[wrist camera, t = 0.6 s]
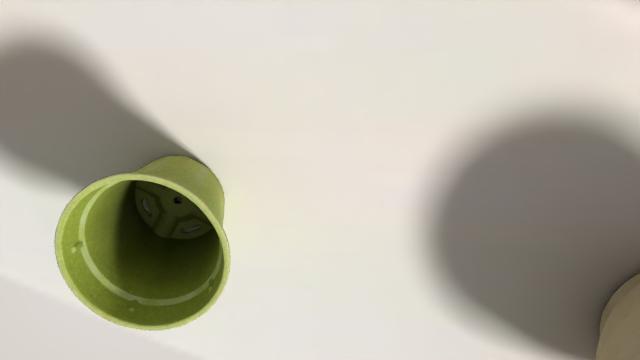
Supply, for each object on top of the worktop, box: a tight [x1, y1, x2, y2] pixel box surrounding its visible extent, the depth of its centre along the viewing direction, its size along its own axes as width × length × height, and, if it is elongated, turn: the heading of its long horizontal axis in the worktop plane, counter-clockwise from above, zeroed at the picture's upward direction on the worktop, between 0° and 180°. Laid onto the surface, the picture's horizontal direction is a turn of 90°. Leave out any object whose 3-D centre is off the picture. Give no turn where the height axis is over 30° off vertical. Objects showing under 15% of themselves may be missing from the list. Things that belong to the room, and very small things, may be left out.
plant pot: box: [55, 156, 230, 331], centre depth 36 cm, size 9×9×9 cm
